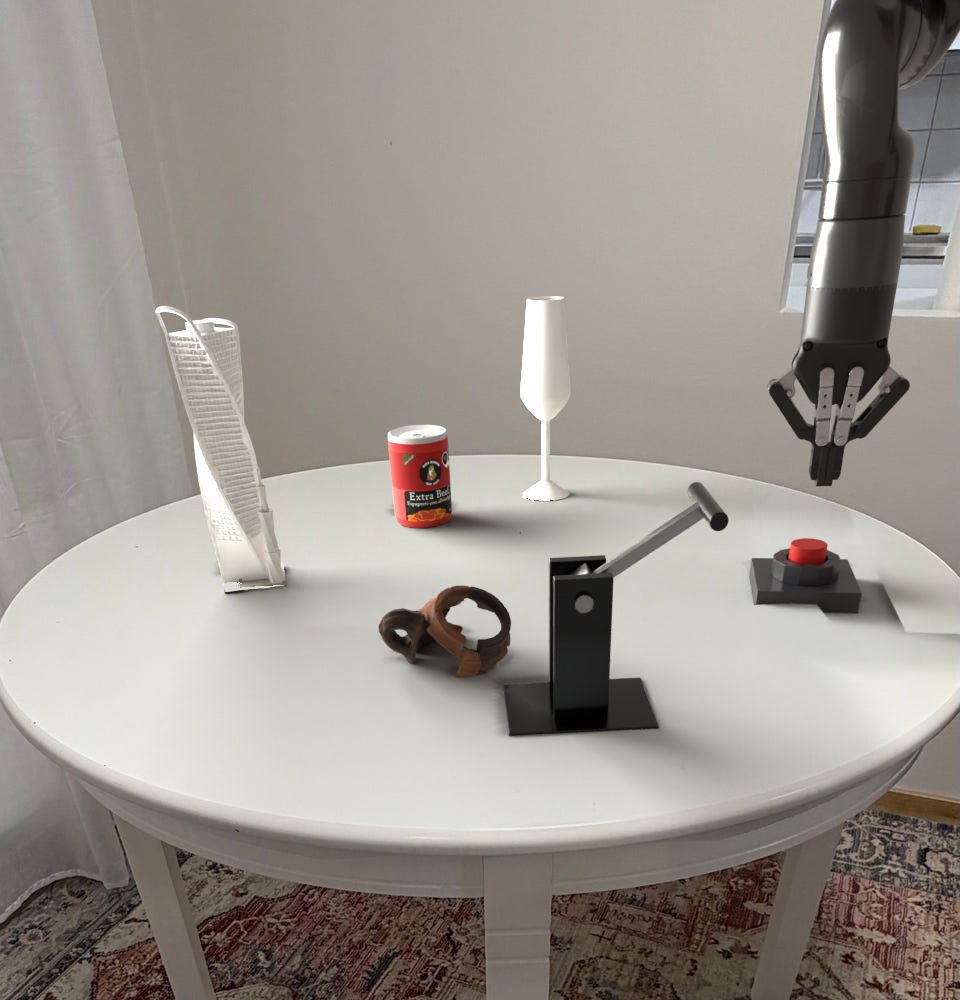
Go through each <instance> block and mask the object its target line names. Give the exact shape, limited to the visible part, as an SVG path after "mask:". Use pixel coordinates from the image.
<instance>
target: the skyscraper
mask: <svg viewBox="0 0 960 1000" xmlns="http://www.w3.org/2000/svg"><path fill="white" fill-rule="evenodd" d="M165 312H166V313H171V314H176V315H177V316H179V317H182V318H183V319H185V320H186V322H184V325H185V329H186V330H180V331H175V332H169V333H168V331H167V328H166V325H165V323H164V320H163V318H162V315H161V314H160V313H165ZM155 316H156V318H157V320H158V322H159V325H160V327H161V330H162V332H163V335H164V338H165V342H166V346H167V349H168V353H169V358H170V362H171V365H172V369H173V372H174V376H175V379H176V383H177V387H178V390H179V393H180V397H181V401H182V403H183V406H184V410H185V412H186V415H187V419H188V421H189V425H190V427H191V429H192V433H193V446H194V447H193V448H194V458H195V465H196V472H197V479H198V485H199V492H200V496H201V500H202V505H203V506H202V507H203V511H204V514H205V519H206V523H207V527H208V531H209V535H210V539H211V543H212V547H213V551H214V554H215V558H216V562H217V566H218V569H219V572H220V576H221V579H222V583H223V584H224V583H227V582H237V583H238V582H240V583H242V584H240V583H239V584H240V585H238V587H239V586H240V588H242V587H255V586H273V585H287V578H285V577H286V571H285V570H284V569H285V563H284V562H282V557H281V555H282V554H281V550H282V549H280V548H279V544H278V540H277V536H276V533H275V523H274V510H273V509H270V507H269V505H268V500H267V492H266V491H267V490H266V485H265V484H263V480H262V475H261V468H259V464H258V459H257V456H256V452H255V448H254V446H253V443H252V439H251V436H250V433H249V430H248V428H247V425H246V422H245V394H244V393H245V392H244V377H243V375H244V374H243V365H242V354H241V342H240V331H239V327H238V324H237V323H236V322H235V321H233V320H230V319H225V318H218V317H206V318H202V319H196V320H193V319H192V318H191V317H190V316H189V315H188V314H186V312H184V311H182V310H181V309H179V308H176V307H173V306H168V305H161V306H158V307H156V309H155ZM215 324H219V325H225V326H230V327H216V326H215ZM236 586H237V585H236Z"/></svg>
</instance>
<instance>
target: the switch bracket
mask: <svg viewBox="0 0 960 1000" xmlns="http://www.w3.org/2000/svg"><path fill="white" fill-rule="evenodd" d="M606 562H607V557H606V555H604V554H602V555H581V556H563V557H562V556H561V557H560V556H559V557H549V558H548V681H545V682H544V681H543V682H541V681H540V682H525V683H523V682H522V683H505V684H503V693H504V703H505V715H506V723H507V724H506V725H507V732H508V733H507V734H508V736H509V737H518V736H519V737H520V736H521V737H522V736H540V735H560V734H579V733H581V734H583V733H599V732H601V733H602V732H618V731H619V732H620V731H621V732H622V731H638V730H640V731H641V730H658V729H660V727H659V723H658V721H657V717H656V715H655V713H654V710H653V707H652V704H651V702H650V699H649V696H648V694H647V691H646V689H645V686H644V682H643V680H642V678H641V677H625V678H624V677H621V678H610V675H611V652H612V649H611V648H612V630H613V629H612V625H613V603H614V601H613V599H614V580H615V579H614V578H615V577H614V578H613V575H612V573H599V574H579V575H568V574H570V573H571V572H573V571H574V570H576V569H577V568H579V567H580V566H582V565H583V564H585V563H586V564H587V565H588V567H589V569H590V570H591V572H593V571H594V570H596V569H597V568H599V567H600V566H602V565H603V564H605V563H606Z"/></svg>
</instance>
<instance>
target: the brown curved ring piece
mask: <svg viewBox="0 0 960 1000" xmlns="http://www.w3.org/2000/svg"><path fill="white" fill-rule="evenodd" d="M465 599H468V600H470V601H473V602H474V603H475V604H476V607H477V608H478V609H481V610H483V611H488V612H491V613H492V614H494V615H495V616H496V618H497V619H498V621H499V624H500V630H499V632H498V633H497V634H496V635H494V636H492V637H489V638H481V639H480V638H479V639H477V641H476V648H475V649H474V648H469V647H467V646H466V642H467V636H466V635H464V634H463V633H462V631H463V630H464V627H463V626H462V625H460V624H454V623H452V622H450V621H448V620H447V618H446V617H447V616H448V614H449V612H450V610H451V608H453V607H457V606H459V605H460V604H462V602H465ZM397 630H401V631H403V632H406V635H404V636H402V635H400V634H398V633H397V632H396V631H397ZM511 630H512V619H511V615H510V613H509V611H508V609H507V607H506V606H505V605H504V603H503V602H502V601H501V600H500V599H499V597H497V596H495V595H494V594H493V593H490V592H489V591H487V590H485V589H482V588H479V587H476V586H470V585H469V586H468V585H454V586H450V587H447V588H446V587H445V589H443V590H442V591H440V592H439V593H438V594H437V596H436V597H434V598H431V599H430V600H429V601H427V602H425V604H424V605H423V606H421V608H419V609H417V610H411V609H407V608H403V607H402V608H395V609H392V610H390V611H388V612H386V613H385V614H384V615H383V617H381V620H380V622H379V623H378V633H379V635H380V637H381V640H382V641H383V643H384V644H385V645H386V647H388V648H389V649H390V650H392V652H395V653H398V654H400V655H402V656H403V657H404V658H405V660H406V661H407V662H408V663H409V664H410V665H415V664H416V663H417V655H416V654H417V651H418V650H419V648H421V647H422V646H423V645H425V644H427V643H429V642H432V641H436V643H437V644H439V645H440V646H442V647H443V648H444V649H445V650H446V651H447V652H449V654H451V655H452V656H454V657H455V658H457V659H459V660H460V661H459V666H458V670H457V671H456V672H455V675H454V677H455V678H469V677H470V678H471V677H476V676H478V675H479V673H480V674H485V673H486V672H488V671H489V670H491V669H492V668H494V667H495V666H496V665H498V664H499V663H500V662H501V661H502V660H503V659H504V658H505V657H506V655H507V654H508V652H509V650H508V647H510V645H511V640H512V639H511Z"/></svg>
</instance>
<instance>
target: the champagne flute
mask: <svg viewBox="0 0 960 1000" xmlns="http://www.w3.org/2000/svg"><path fill="white" fill-rule="evenodd" d="M565 302H566V300H565V297H564V296H559V295H557V296H556V295H544V296H542V295H541V296H534V297H533V296H532V297H527V299H526V307H525V321H524V322H525V323H524V334H523V335H524V336H523V351H522V352H523V353H522V366H521V380H520V394H519V395H520V398H521V400H522V402H523V404H524V405H525V407H526V408H527V410H528V411H530V412H531V414H532V415H533V416H535V418H537V420H540V422H541V425H540V426H541V427H540V429H541V433H540V434H541V435H540V437H541V439H540V441H541V442H540V443H541V447H540V449H541V454H540V455H541V479H540V481H538V482H537V483H536V484H534V485H532V486H531V487H529V488H528V489H527V490H525V491H523V492H522V494H523V496H522V498H524V499H526V498H528V499H527V500H529V499H530V500H529V501H534V500H539V501H538V502H551V501H550V500H553V501H559V500H562V499H565V498H567V497H569V496H570V491H568V490H567V489H565V488H564V487H562V486H561V485H558V484H557V483H556V482H554V481H552V480H551V420H553V419H554V418H555V417H557V415H558V414H559V413H560V412H561V411H562V410H564V408H565V407H566V405H567V403H568V401H569V399H570V397H571V394H572V389H571V388H572V387H571V373H570V359H569V345H568V344H569V343H568V329H567V314H566V303H565Z"/></svg>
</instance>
